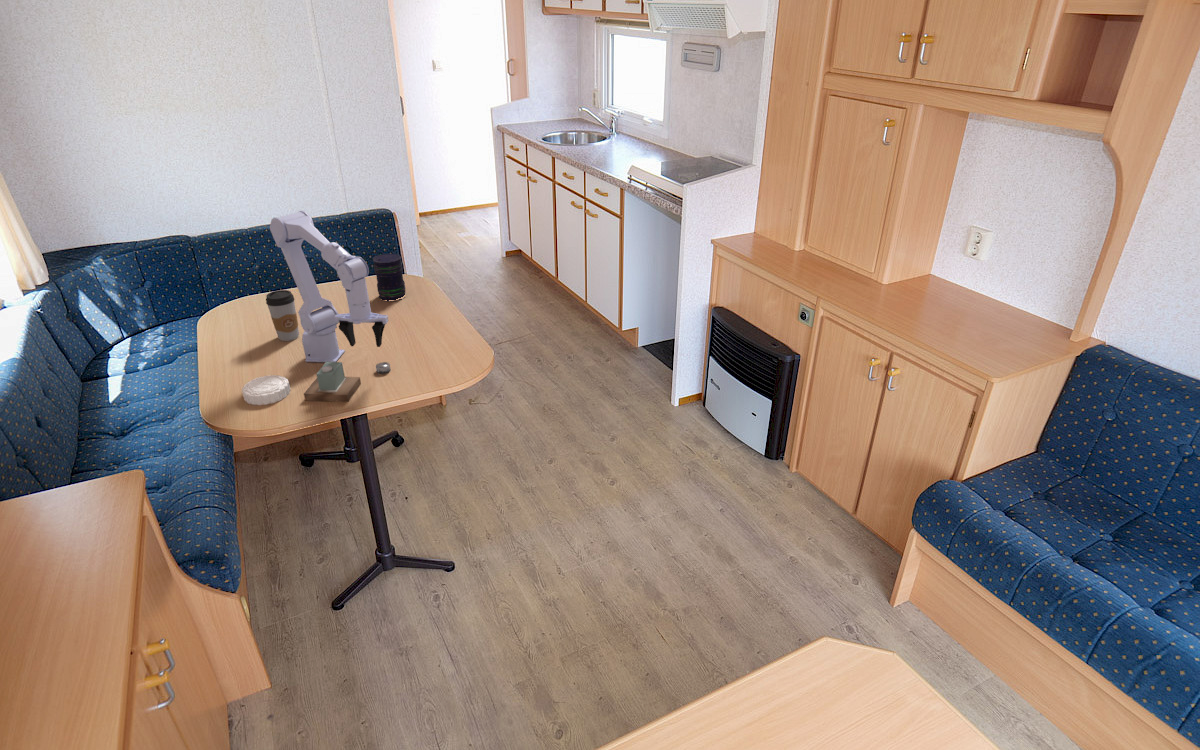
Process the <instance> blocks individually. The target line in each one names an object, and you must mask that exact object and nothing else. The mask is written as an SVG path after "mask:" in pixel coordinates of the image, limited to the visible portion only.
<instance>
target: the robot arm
mask: <svg viewBox="0 0 1200 750" xmlns="http://www.w3.org/2000/svg"><path fill="white" fill-rule="evenodd" d="M269 230H270V233H271V236H272V238H273V241H275V245H276V247H277V248H280V249H281V252H282V254H283V257H284V259H285V261H286V264H287V266H288V268H289V270H290V273H291V275H292V278H293V281H294V283H295V285H296V287H297V289H298V291H299V295H300V296H301V299H302V302H303V304H302V305H301V307H300V308H299V309H298V312H297V314H298V315H299V321H300V325H301V327H302V329H303V333H302V338H301V339H302V340H301V342H302V347H303V352H304V356H305V360H304V361H305V362H306V363H326V362H338V360H340V358H341V357H342V355H343V354H344V353H345V351H346V350H345V349H340V347H339V341H338V338H337V332H336V329H337V328H338V329H339V330H340V331H341V332H342V333H343V335H344V336H345V337H346V339H347V341H348V343H349V345H350V347H354V346H355V344H356V342H357V341H356V338H355V337H356V336H355V331H354V325H360V324H361V323H367V324H368V323H369V324H371V323H373V324H372V326H371V329H372V331H373V333H374V337H375V338H374V339H375V344H376V347H377V348H380V347H381V345H382V344H383V343H382V342H383V335H384V329H385V326H386V324H388V323H389V317H388V314H381V313H375V312H372V310H371V304H370V298H369V292H368V287H367V286H368V285H367V280H366V277H368V276H369V273H370V270H369V266H368V264H367V262H366V261H365V259H364V258H362V257H361V256H356V255H351V254H350V253H349V251H347V250H346V249H344V248H343V247H342V246H341V245H339V243H338V242H334V241H333V242H330V241H329V240H328V239H327V238H326V237H325V236H324V235H323V234H322V233H321V232H320V230H318V228H316V227H315V224H314V221H313V218H312V217H311V216H310V215H309V214H308V213H307V212H306V211H305V210H299V211H296V212H294V213H293V212H292V213H290V214H285V215H282V216H279V217H273V218H272V219H271V221H270V225H269ZM304 241H306V243H308V244H310V245H311V246H313V247H314V248H315V249H317V250H319V251H320V254H321V258H322V259H323V261H325V262H326V263H328V264H329V265H330V266H331V267H332V268H333V269H334V270H335V271H336V273H337V277H338V278H339V279H340V282H341V284H342V287H343V289H344V290H345V295H346V302H347V306H348V313H346V312H345V313H338V311H337V309H336V308H335V306H334V304H333V303H332V301H331V300H329V299H326V298H325V297H322V294H321V293H320V290H319V288H318V286H317V283H316V281H315V278H314V275H313V273H312V270H311V268H310V266H309V263H308V260H307V257H306V256H305V253H304V251H303V249H302V244H303V242H304ZM338 324H339V325H338ZM337 325H338V326H337Z"/></svg>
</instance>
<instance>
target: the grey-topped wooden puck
mask: <svg viewBox="0 0 1200 750" xmlns="http://www.w3.org/2000/svg"><path fill="white" fill-rule="evenodd" d="M375 370H376V374H379V375H385V374H389V373H390V372H391V364H390V363H389V362H386V361H384V362H383V361H382V362H379V363H377V364H375Z"/></svg>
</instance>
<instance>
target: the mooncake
mask: <svg viewBox="0 0 1200 750" xmlns="http://www.w3.org/2000/svg"><path fill="white" fill-rule="evenodd" d="M288 379H289V378H286V376H282V375H274V374H269V375H264V376H257V377H256V378H253V379H251V380H250V381H248V382H246V383H245V384H244V385H243V388H242V389H241V391H242V392H241V393H242V396H243V399H244V402H246V404H249V405H252V406H262V405H265V406H267V405H269V404H275V403H277V402H280V401H282V400H283V399H285V398H287V396H288V395H290V392H291V391H292V390H291V386H290V382H289V380H288Z"/></svg>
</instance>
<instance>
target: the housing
mask: <svg viewBox="0 0 1200 750" xmlns="http://www.w3.org/2000/svg"><path fill="white" fill-rule="evenodd" d="M316 372H317V373H316V375H315V376H316V378H317V379H318V384H319V388H320V390H336V389H337V388H338V387H339V385H340V384H341V383H342V381H343V380H344V379H345V377H346V376H345V371H344V365H343V362H342V361H340V362H339V361H336V362H324V364H323V365H322V366H321V367H320V368H319V370H318V371H316Z"/></svg>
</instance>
